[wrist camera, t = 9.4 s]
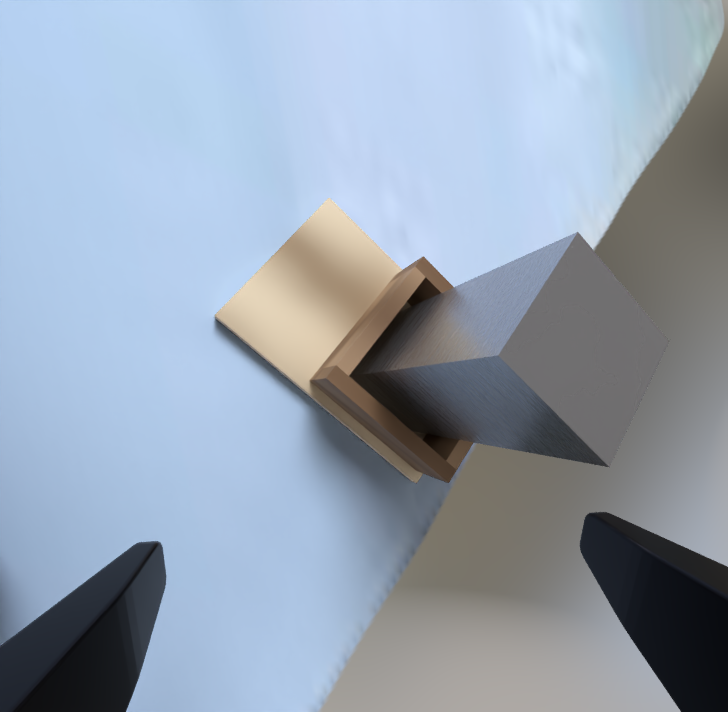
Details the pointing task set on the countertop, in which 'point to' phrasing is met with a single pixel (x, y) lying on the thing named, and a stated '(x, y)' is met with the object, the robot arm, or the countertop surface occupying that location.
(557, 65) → the countertop surface
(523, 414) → the post
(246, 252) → the countertop surface
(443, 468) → the stand
